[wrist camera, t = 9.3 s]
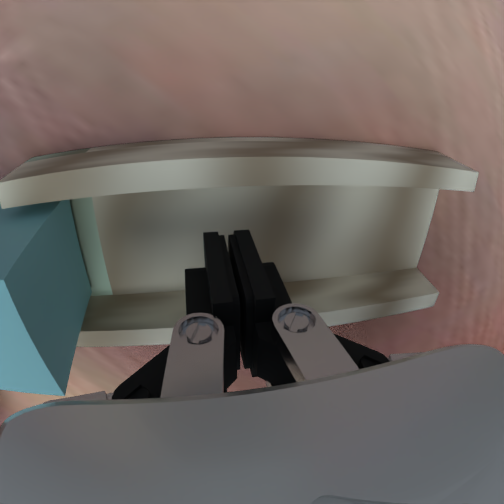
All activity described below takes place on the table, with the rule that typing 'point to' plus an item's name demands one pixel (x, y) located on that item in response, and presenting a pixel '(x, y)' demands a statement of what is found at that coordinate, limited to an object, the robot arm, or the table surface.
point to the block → (40, 297)
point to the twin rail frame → (243, 222)
